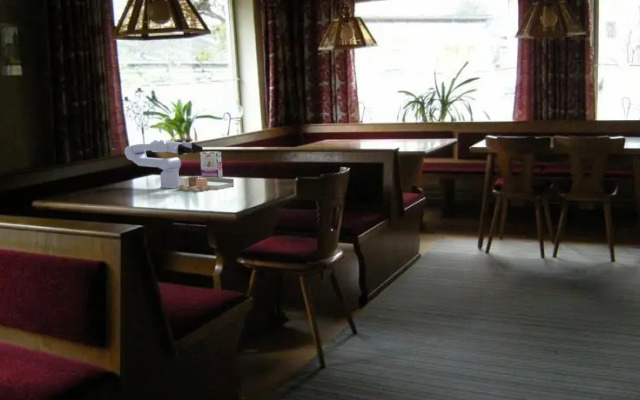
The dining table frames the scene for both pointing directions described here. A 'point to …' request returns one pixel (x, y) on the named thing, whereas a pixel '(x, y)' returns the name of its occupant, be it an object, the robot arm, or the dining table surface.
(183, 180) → the white cube
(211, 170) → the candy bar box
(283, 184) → the dining table surface
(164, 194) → the dining table surface
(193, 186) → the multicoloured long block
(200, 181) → the salmon pink cube
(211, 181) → the dock
